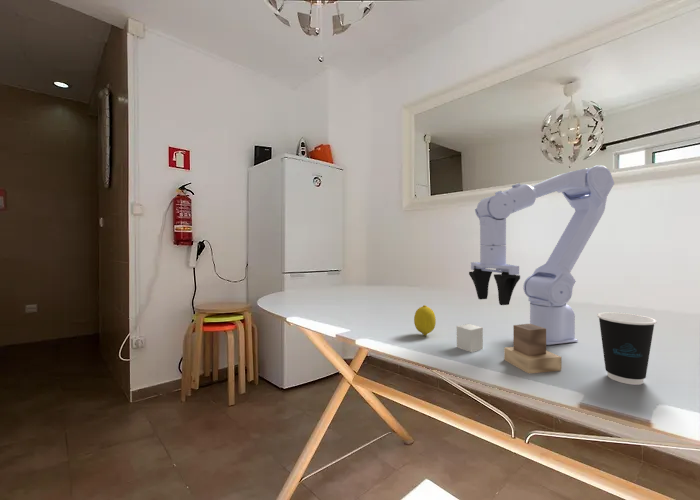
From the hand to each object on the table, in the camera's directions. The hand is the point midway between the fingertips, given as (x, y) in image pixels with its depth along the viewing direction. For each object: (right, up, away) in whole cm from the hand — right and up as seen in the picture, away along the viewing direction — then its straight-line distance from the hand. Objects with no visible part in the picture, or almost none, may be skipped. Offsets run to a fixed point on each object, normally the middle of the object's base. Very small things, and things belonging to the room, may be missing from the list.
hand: (492, 301), depth 77 cm
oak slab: (+1, -11, -14) cm, 18 cm away
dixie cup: (+14, -11, -21) cm, 27 cm away
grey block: (-7, -10, -4) cm, 13 cm away
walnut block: (+1, -8, -14) cm, 16 cm away
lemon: (-15, -10, +7) cm, 19 cm away
